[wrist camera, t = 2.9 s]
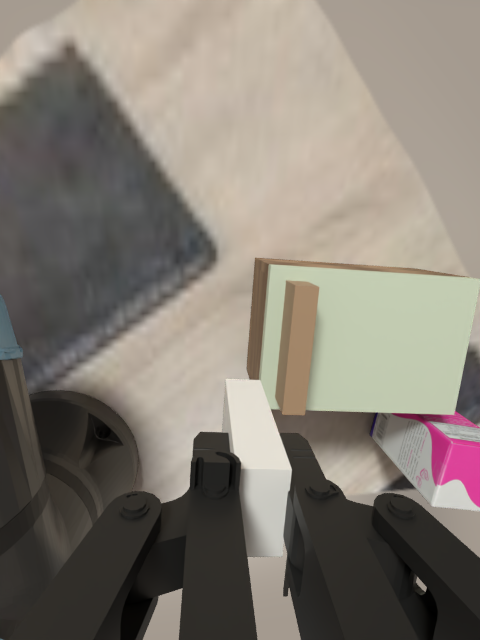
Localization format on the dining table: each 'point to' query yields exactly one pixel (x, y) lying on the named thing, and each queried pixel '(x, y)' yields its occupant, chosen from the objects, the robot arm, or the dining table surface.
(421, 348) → the lid
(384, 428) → the supplement box
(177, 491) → the dining table surface
